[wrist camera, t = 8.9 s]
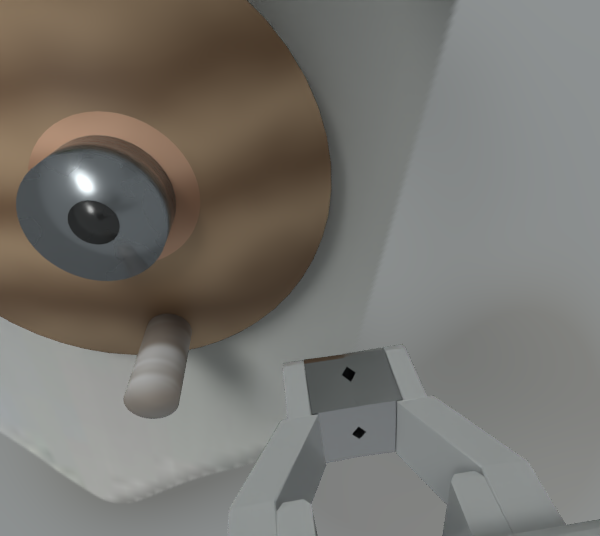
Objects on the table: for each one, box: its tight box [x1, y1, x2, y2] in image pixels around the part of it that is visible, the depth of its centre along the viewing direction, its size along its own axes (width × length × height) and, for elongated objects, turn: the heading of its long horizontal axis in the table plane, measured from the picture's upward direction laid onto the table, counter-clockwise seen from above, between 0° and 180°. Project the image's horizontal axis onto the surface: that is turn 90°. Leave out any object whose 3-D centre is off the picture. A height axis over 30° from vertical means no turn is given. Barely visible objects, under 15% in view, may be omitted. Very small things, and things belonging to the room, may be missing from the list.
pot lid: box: [16, 135, 176, 281], centre depth 22 cm, size 7×7×3 cm
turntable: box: [0, 0, 331, 419], centre depth 22 cm, size 24×24×8 cm
